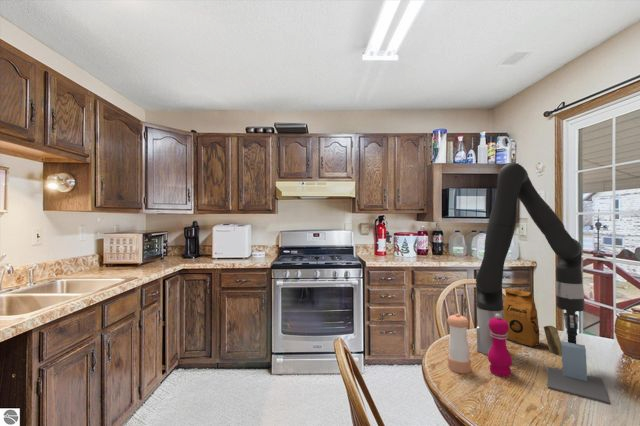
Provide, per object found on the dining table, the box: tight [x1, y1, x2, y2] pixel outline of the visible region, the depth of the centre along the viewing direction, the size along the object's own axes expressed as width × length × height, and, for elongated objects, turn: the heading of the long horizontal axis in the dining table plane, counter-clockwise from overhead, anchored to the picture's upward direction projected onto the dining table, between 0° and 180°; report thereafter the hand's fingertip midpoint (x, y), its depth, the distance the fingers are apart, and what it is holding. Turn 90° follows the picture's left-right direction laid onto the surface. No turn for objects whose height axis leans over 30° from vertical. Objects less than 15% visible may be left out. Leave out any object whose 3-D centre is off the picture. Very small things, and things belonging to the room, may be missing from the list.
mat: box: [547, 366, 611, 405], centre depth 95 cm, size 14×16×1 cm
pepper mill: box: [487, 314, 513, 378], centre depth 103 cm, size 7×7×20 cm
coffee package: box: [503, 288, 540, 348], centre depth 130 cm, size 10×12×22 cm
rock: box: [543, 325, 562, 357], centre depth 120 cm, size 11×9×10 cm
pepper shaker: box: [446, 313, 472, 374], centre depth 107 cm, size 7×7×19 cm
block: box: [560, 340, 588, 381], centre depth 99 cm, size 6×4×10 cm, turn 53°
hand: (572, 345), depth 104 cm, fingers closed
